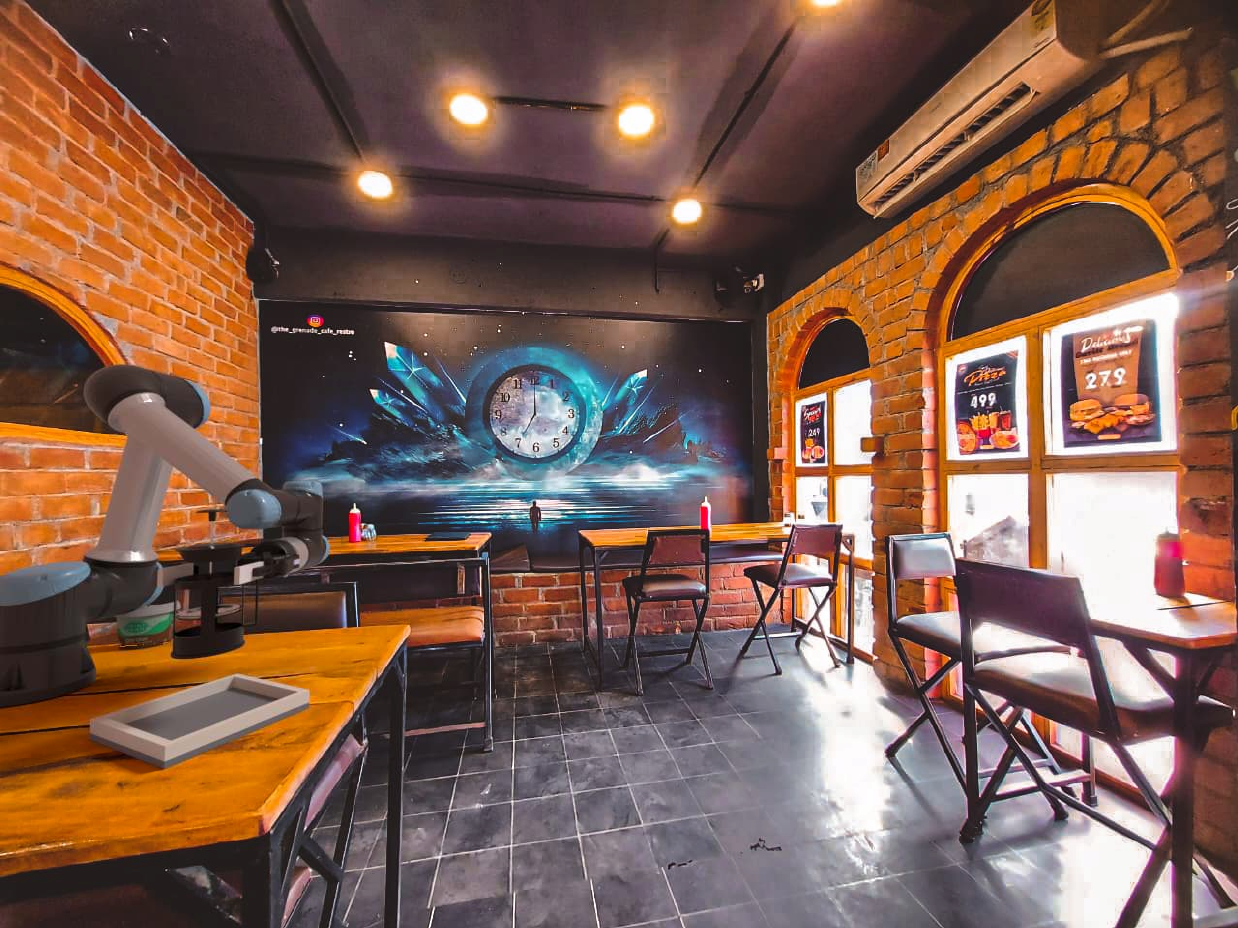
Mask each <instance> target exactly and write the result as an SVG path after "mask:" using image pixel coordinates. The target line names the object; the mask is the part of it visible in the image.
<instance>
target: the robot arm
mask: <svg viewBox="0 0 1238 928" xmlns="http://www.w3.org/2000/svg"><path fill="white" fill-rule="evenodd" d="M83 398H84V400H85V404H86V405H87V407H88V408H89V410H90V411H92V413H93V414H95V416H96V417H98V418H99V419H100V420H101V421H102V422H104V423H105V424H106V425H108V426H109V427H110V428H112V429H113V430H114V431H117V432H119V433H124V434H125V435H126V436H125V437H126V441H125V443H124V447H123V451H122V455H121V459H120V461H119V462H120V463H119V466H118V470H117V473H116V476H115V481H114V483H113V488H112V492H111V495H110V499H109V502H108V504H107V505H108V506H107V508H106V513H105V517H104V521H103V523H102V524H103V525H102V526H101V527H102V528H101V531H100V534H99V535H100V536H99V538H98V541H97V544H96V546H94V547H92V548H90V549H88V550H86V551H85V552H84V555H83V558H82V560H81V561H80V560H79V561H78V560H77V561H75V560H74V561H59V562H57V561H56V562H50V563H47V564H43V563H42V564H37V565H36V564H35V565H31V566H26V567H22V568H18V569H15V570H12V571H9V572H6V573H5V574H3V575H1V577H0V708H4V707H12V706H19V705H20V706H21V705H26V704H30V703H35V702H39V701H40V702H42V701H44V700H49V699H53V698H57V697H60V696H64V695H67V694H70V693H74V692H77V691H79V690H81V689H84V688H86V687H88V686H90V685H92V684H93V683H94V682H96V679H97V668H96V665H95V662H94V660H93V658H92V656H91V653H90V650H89V648H88V646H87V644H86V633H87V632H86V631H87V630H86V629H87V624H89V623H93V622H97V621H101V620H104V619H109V618H112V617H113V616H117V615H124V614H128V613H130V612H133V611H135V610H137V609H140V608H143V607H145V606H147V605H151V604H152V603H153V602H154V601H155V600H156V599H157V598H158V597H159V596H160V595H161V594H162V592H163V589H164V587H167V586H171V585H174V580H175V579H177V578H180V577H185V576H190V575H197V574H205V573H209V571H210V562H205V563H188V562H186V561H183V562H181V561H179V562H178V561H177V562H176V563H174V565H173V566H169V567H163V565H162V564H161V563H160V562H158V561H159V560H158V559H159V554H158V553H157V552H156V551H155V550H153V544H154V541H155V538H156V537H155V536H156V533H157V529H158V526H159V521H160V518H161V514H162V512H163V511H162V510H163V507H164V503H165V499H166V496H167V491H168V489H169V484H170V480H171V476H172V475H173V474H172V473H173V469H176V470H177V471H178V472H180V473H181V474H182V475H184V476H185V477H186V478H188V479H189V480H190V481H191V482H193V483H194V484H196V485H197V486H198V487H199V488H201V489H202V490H203V491H205V492H206V493H207V494H209V495H210V496H212V497H213V499H215V500H216V501H218V502H219V503H221V504H222V505H223V506H224V507H225V510H227V511H228V512H225V514H226V516H227V518H228V521H229V522H230V524H231V525H233V526H234V527H235V528H238V529H241V530H254V531H255V530H265V529H269V528H271V529H272V528H277V527H282V528H281V529H282V530H281V532H282V537H281V538H276V539H275V538H274V539H271V540H266V541H261V542H259V543H257V544H256V545H254V546H253V547H252V549H250V551H248V552H244V553H242V557H241V558H238V559H233V560H226V561H217V562H213V565H212V573H215V572H234V585H235V586H236V585H237V586H238V585H243V583H245V584H246V583H250V582H253V581H256V579H260V580H269V581H270V580H274V579H277V578H280V577H282V578H287V577H288V576H289V574H291V573H296V572H297V571H302V570H305V569H310V568H314V567H315V566H318V565H319V564H321V563H324V561H325V560H326V559H327V558H328V556H329V554H330V552H331V551H330V550H331V545H330V542H329V540H328V538H327V537H326V536H325V535H323V534H324V533H323V531H324V530H323V517H324V516H323V515H324V513H323V512H324V507H323V506H324V494H323V485H322V482H319V481H309V480H308V481H306V480H305V481H303V480H300V481H298V480H297V481H286V482H285V483H284V484H283V485H282V489H274V488H272V487H271V486H270V485H268V484H267V483H265V482H264V481H262V480H261V479H260V478H259V477H257V476H256V475H255V474H254V473H253V472H251V471H249V470H248V469H247V468H246V467H244V466H243V465H242V464H241V463H239V462H238V461H237V460H235V459H234V458H233V457H231V456H230V454H228V453H226V452H224V450H222V449H221V448H220V447H218V446H217V445H216V444H214V443H213V442H211V440H209V439H208V438H206V437H205V436H204V435H202V434H201V433H200V432H199V431H197V429H199V428H200V427H201V426H202V425H205V424H206V423H207V422H208V420H209V418H210V416H211V410H212V408H211V401H210V398H209V395H208V394H207V393H206V392H205V391H204V389H203V388H202V387H201V386H200V385H198V384H197V383H195V382H193V381H191V380H188V379H185V378H183V377H179V376H177V375H171V374H167V373H164V372H159V371H155V370H152V369H148V368H144V367H141V366H137V365H133V364H132V365H131V364H125V363H124V364H123V363H121V364H112V365H111V364H110V365H108V366H104V367H102V368H99V369H98V370H96V371H95V372H93V373H92V374H91V375H89V377H88V378H87V379H86V381H85V384H84V387H83ZM234 585H233V586H234ZM113 618H114V617H113Z"/></svg>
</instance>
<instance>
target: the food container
mask: <svg viewBox="0 0 1238 928" xmlns="http://www.w3.org/2000/svg"><path fill="white" fill-rule="evenodd" d="M181 608H182V607H181V602H179V599H177V611H176V614H177V613H178V610H180V609H181ZM173 617H174V601H172V602H169V603H164V604H149V605H147V606H145V607H143V608H140V609H137V610H135V611H133V612H130V613H128V614H124V615H117V616H113V618H116V624H117V625H116V627H117V635H118V636H117V637H118V648H119V650H121V651H135V650H136V651H137V650H144V649H150V648H156V647H160V646H163V645H167V643H165V644H163V643H164V642H169V643H170V642H171V641H172V642H173ZM154 643H155V644H154ZM143 644H144V645H143ZM125 645H137V646H125ZM119 646H125V647H119Z"/></svg>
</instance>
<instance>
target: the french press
mask: <svg viewBox="0 0 1238 928" xmlns="http://www.w3.org/2000/svg"><path fill="white" fill-rule="evenodd" d="M226 512H228V511H227V510H226V509H222V508H221V509H219V508H213V509H212V508H211V509H203V510H197V511H196V512H195V513H196V514H207V513H208V514H207V517H208V522H210V527H209V529H210V532H209V533H210V534H209V537H210V538H209V542H208V543H199V544H193V545H189V546H182V547H178V548H175V552H177V553H179V555H180V557H181V558H182V560H183V561H184V562H188V563H205V562H210V571H209V573H205V574H197V575H190V576H185V577H180V578H177V579H175V580H174V584H173V585H174V586H173V588H174V589H173V602H174V617H173V635H172V651H171V652H170V658H172V659H174V660H197V659H205V658H210V657H215V656H220V655H223V654H228V653H230V652H233V651H236V650H239V649H241V648H242V647H244V646H245V644H246V640H245V639H244V636H245V635H244V634H245V633H244V631H245V629H244V628H250V627H256V626H258V622H259V620H258V619H259V579H256V580H255V604H254V605H255V606H254V607H255V608H254V609H255V610H254V621H253V622H247V623H245V589H246V587H245V586H246V585H245V584H246V583H243V584H242V586H241V587H242V593H241V594H242V595H241V597H242V598H241V599H242V600H241V601H242V602H241V604H236V603H235V604H234V603H231V604H229V603H228V604H219V594H220V593H219V591H220V589H219V588H221V587H227V586H234V572H215V573H212V565H213V562H217V561H226V560H233V559H238V558H241V557H242V554H243V548H245V547H246V544H245V543H232V542H214V522H217V521H216V520H217V519H216V518H217V513H226ZM179 590H180V591H181V590H183V591H186V590H187V591H189V590H190V591H193V590H201V593H200V594H201V595H200V596H201V597H200V599H201V600H200V607H194V608H190V609H186V610H183V611H179V612H178V610H177V600H178V591H179ZM176 611H177V613H176ZM239 612H241V622H240V621H221V622H219V618H221V617H227V616H230V615H234V614H237V613H239ZM177 620H179V621H200V624H199V625H196V626H195V625H194V626H191V627H190V626H189V627H186V628H183V629H180V630H178V631H177Z"/></svg>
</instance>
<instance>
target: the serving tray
mask: <svg viewBox="0 0 1238 928" xmlns="http://www.w3.org/2000/svg"><path fill="white" fill-rule="evenodd" d="M310 692H311V691H310V690H309V689H306V688H305V689H304V688H300V687H296V686H292V685H288V684H284V683H280V682H276V681H275V682H274V681H272V680H271V681H270V680H268V679H267V680H266V679H262V678H258V677H253V676H249V675H245V674H241V673H235V674H231V675H228V676H225V677H222V678H218V679H216V680H212V681H209V682H205V683H203V684H199V685H195V686H193V687H189V688H187V689H183V690H180V691H177V692H173V693H170V694H168V695H165V696H161V697H158V698H155V699H151V700H149V701H145V702H141V703H139V704H136V705H132V706H130V707H129V706H128V707H125V708H122V709H118V710H117V711H113V712H110V713H106V714H103V715H100V716H97V717H93V718H89V720H90V721H89V739H88V740H90V741H92V742H95V743H97V744H99V745H102V746H105V747H106V748H109V749H112V750H114V751H117V752H120V753H123V754H124V755H128V756H130V757H133V758H135V759H138V760H140V761H142V762H145V763H147V764H150V765H153V766H156V767H158V768H161V769H163V770H167V769H168V768H170V767H173V766H175V765H178V764H180V763H182V762H184V761H187V760H190V759H191V758H194V757H196V756H199V755H201V754H203V753H206V752H209V751H211V750H213V749H215V748H217V747H218V748H219V747H220V746H223V745H224V744H225V745H226V744H227V743H229V742H232V741H235V740H237V739H240V738H241V737H244V736H247V735H248V734H250V733H253V732H256V731H258V730H260V729H263V728H265V727H268V726H271V725H272V724H274V723H277V722H279V721H281V720H284V719H287V718H288V717H291V716H294V715H295V714H296V715H297V714H299V713H301V712H303V711H305V710H308V709H310Z"/></svg>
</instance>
